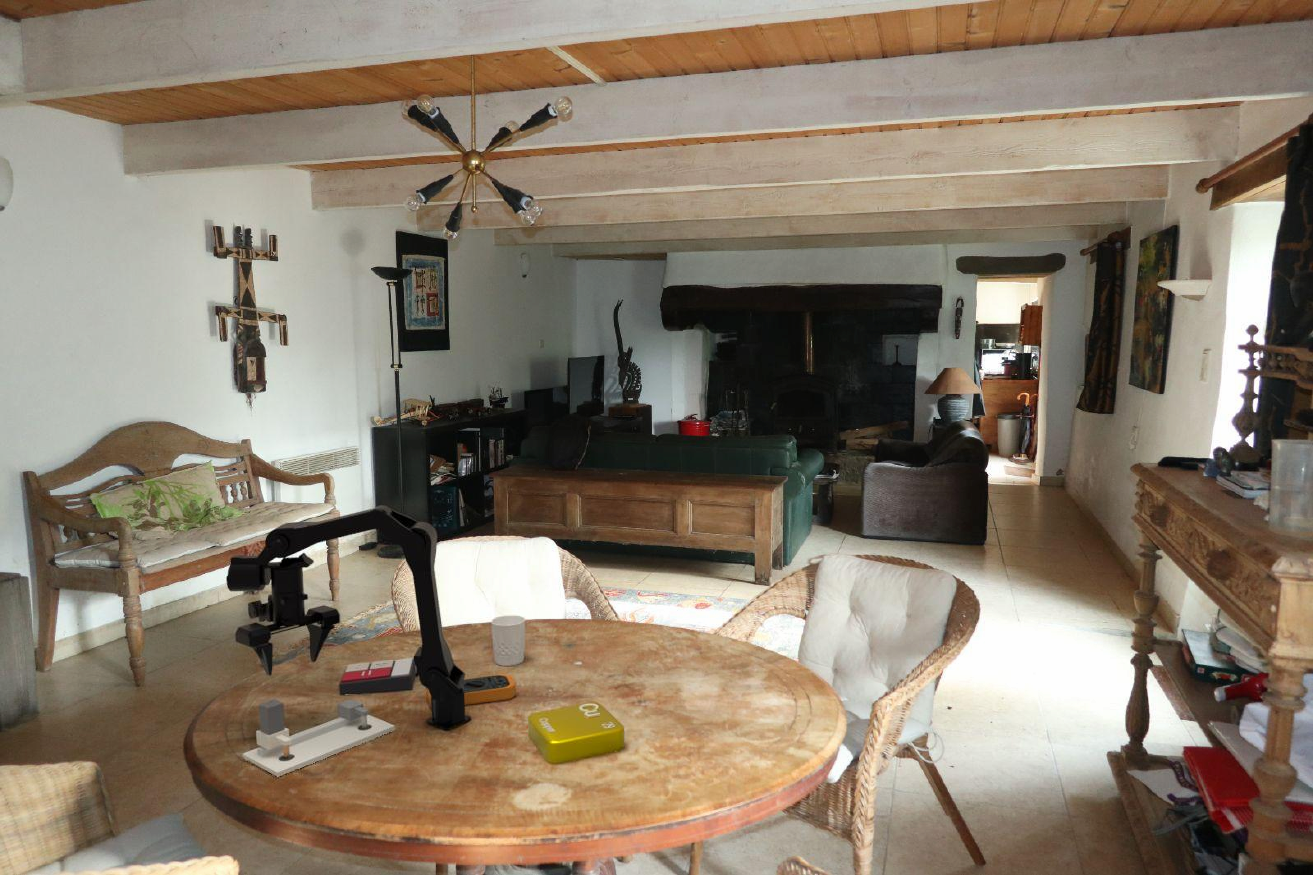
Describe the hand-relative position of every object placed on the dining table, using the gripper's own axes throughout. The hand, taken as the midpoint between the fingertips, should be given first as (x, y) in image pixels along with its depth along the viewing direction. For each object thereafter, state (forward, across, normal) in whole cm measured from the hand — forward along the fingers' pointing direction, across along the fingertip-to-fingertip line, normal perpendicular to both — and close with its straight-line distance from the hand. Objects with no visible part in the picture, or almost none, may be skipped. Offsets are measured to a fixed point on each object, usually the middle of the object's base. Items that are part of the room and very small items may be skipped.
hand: (291, 668), depth 173 cm
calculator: (+13, -24, -7) cm, 28 cm away
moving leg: (+11, +9, +10) cm, 17 cm away
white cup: (+12, -51, +6) cm, 53 cm away
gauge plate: (+12, +1, +11) cm, 16 cm away
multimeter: (+13, -31, +16) cm, 37 cm away
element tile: (+13, -29, +48) cm, 57 cm away
